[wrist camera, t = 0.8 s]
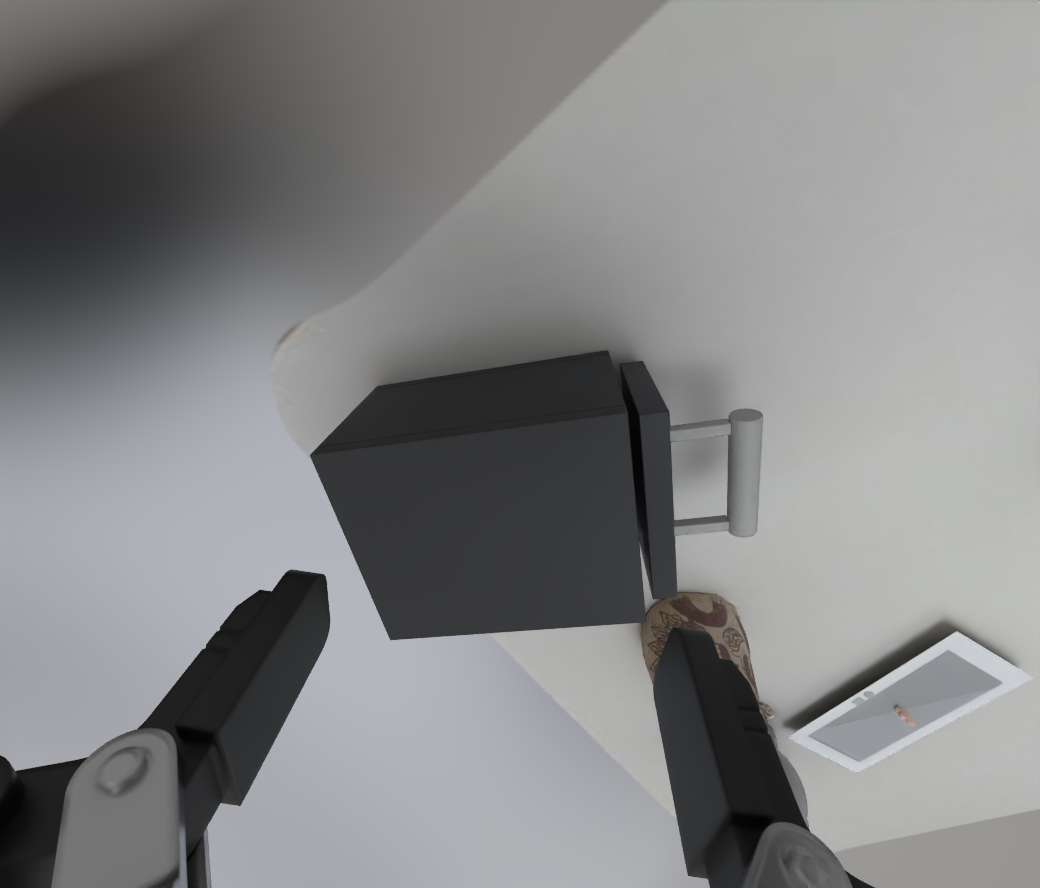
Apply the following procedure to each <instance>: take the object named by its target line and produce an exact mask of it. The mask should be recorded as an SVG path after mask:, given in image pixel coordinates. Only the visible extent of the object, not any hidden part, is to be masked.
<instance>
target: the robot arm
mask: <svg viewBox="0 0 1040 888" xmlns="http://www.w3.org/2000/svg"><path fill="white" fill-rule="evenodd" d="M329 628H330V612H329V602H328V591H327V581H326V577H325V575H324V574H318V573H311V572H304V571H298V570H289V571H288V572H286V573H285V574H284V576H283V577H282V578H281V580H280V581H279V582H278V584H277V585H276V587H275V588H274V589H273V591H272V592H271V591H264V590H259V591H258V592H256V593H255V594H253V595H252V596H250V597H249V598H248V599H246V600H245V601H243V602H242V603H241V604H239V605H238V606H237V607H236V608H235V609H234V611H232V613H231V614H230V615H229V617H228V618H227V619H226V620H225V622H224V623H223V624H222V625H221V627H220V630H219V631H217V632H216V633H215V634H214V636H213V637H212V638H211V639H210V641H209V642H208V643H207V644H206V648H205V649H202V651H201V652H200V653H199V654H198V656H197V657H196V658H195V659H194V661H193V662H192V663H191V665H190V666H189V667H188V668H187V670H186V671H185V672H184V673H183V675H182V676H181V677H180V678H179V680H178V681H177V682H176V684H175V685H174V686H173V687H172V688H171V690H170V691H169V692H168V694H167V695H166V696H165V698H164V699H163V700H162V701H161V702H160V704H159V705H158V706H157V707H156V709H155V710H154V711H153V712H152V714H151V715H150V716H149V717H148V719H147V720H146V721H145V722H144V723H143V724H142V725H141V726H140V727H139V728H138V729H137V730H133V731H130V732H127V733H125V734H122V735H120V736H118V737H116V738H114V739H112V740H110V741H109V742H107V743H105V744H104V745H103V746H101V747H100V748H98V749H97V750H96V751H95V752H94V753H92V754H91V755H90V756H89V757H87V758H83V759H79V760H74V761H68V762H63V763H58V764H52V765H46V766H41V767H35V768H30V769H24V770H19V771H15V770H14V768H13V767H12V766H11V764H10V763H9V761H7V759H6V758H5V757H2V756H0V888H211V874H210V859H209V844H208V831H207V826H208V824H209V822H210V821H211V819H212V817H213V815H214V814H215V812H216V810H217V808H218V806H219V805H220V803H225V804H231V805H238V806H240V805H241V804H242V802H243V800H244V798H245V796H246V794H247V793H248V791H249V789H250V787H251V785H252V783H253V781H254V779H255V777H256V775H257V774H258V772H259V770H260V768H261V766H262V764H263V762H264V760H265V758H266V756H267V754H268V753H269V751H270V749H271V747H272V745H273V743H274V741H275V739H276V737H277V735H278V734H279V732H280V729H281V728H282V726H283V724H284V722H285V720H286V718H287V716H288V714H289V712H290V711H291V709H292V707H293V705H294V703H295V701H296V699H297V697H298V695H299V694H300V692H301V690H302V688H303V686H304V684H305V682H306V680H307V678H308V676H309V674H310V673H311V670H312V669H313V667H314V665H315V663H316V661H317V659H318V657H319V655H320V654H321V652H322V649H323V648H324V645H325V643H326V640H327V637H328V633H329ZM653 692H654V700H655V706H656V711H657V716H658V721H659V727H660V732H661V737H662V742H663V747H664V753H665V758H666V763H667V768H668V774H669V779H670V784H671V789H672V795H673V800H674V805H675V810H676V816H677V821H678V826H679V831H680V836H681V842H682V846H683V852H684V857H685V863H686V868H687V873H688V876H693V877H700V878H706V879H708V880H709V885H710V888H874V887H872V886H870V885H868V884H866V883H864V882H863V881H861V880H859V879H857V878H855V877H854V876H852V875H851V874H849V873H848V872H847V871H845V870H844V868H843V867H842V865H841V863H840V862H839V860H838V859H837V858H836V856H835V855H834V854H833V853H832V851H831V850H830V849H829V848H828V847H827V846H826V845H825V844H824V843H823V842H822V841H821V840H820V839H819V838H817V837H816V836H815V835H813V834H812V833H811V832H810V830H809V829H808V827H807V825H806V823H805V821H804V819H803V816H802V814H801V811H800V809H799V806H798V804H797V801H796V799H795V796H794V794H793V791H792V789H791V786H790V784H789V781H788V779H787V776H786V773H785V771H784V768H783V766H782V763H781V761H780V758H779V756H778V753H777V751H776V748H775V746H774V743H773V741H772V738H771V735H769V734H768V728H767V725H766V723H765V720H764V718H763V715H762V713H760V711H759V709H760V708H759V705H758V703H757V700H756V697H755V695H754V692H753V690H752V687H751V685H750V683H749V682H748V680H747V679H746V678H745V676H744V675H743V674H742V673H741V671H740V670H739V669H738V667H737V666H736V665H735V664H734V662H733V661H732V660H725V659H720V658H719V655H718V652H717V650H716V647H715V644H714V641H713V638H712V636H711V635H710V634H709V633H708V632H706V631H699V630H693V629H686V628H679V627H673V628H672V629H671V631H670V634H669V636H668V639H667V641H666V644H665V646H664V649H663V651H662V654H661V656H660V659H659V662H658V664H657V667H656V669H655V674H654V682H653Z"/></svg>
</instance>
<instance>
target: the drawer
mask: <svg viewBox="0 0 1040 888" xmlns="http://www.w3.org/2000/svg"><path fill="white" fill-rule="evenodd" d="M620 370H621V381H622V392H623V399H624V402H625V406H626V409H627V412H628V421H629V432H630V444H631V455H632V466H633V478H634V489H635V501H636V512H637V524H638V535H639V542H640V546H641V551H642V555H643V559H644V563H645V568H646V572H647V576H648V580H649V585H650V589H651V593H652V597H653V599H666V598H677V576H676V553H675V536H677V535H688V534H698V533H709V532H719V531H729V532H730V533H731V534H732V535H734V536H737V537H751V536H753V535H754V534H755V533H756V532H757V521H758V502H759V482H760V463H761V444H762V425H763V414H762V413H761V412H760V411H757V410H754V409H738V410H735V411H732V412H731V413H730V414H729V421H728V419H721V420H713V421H706V422H698V423H690V424H682V425H675V426H670V419H669V410H668V409H667V407H666V405H665V403H664V401H663V399H662V397H661V395H660V393H659V391H658V389H657V387H656V385H655V384H654V382H653V380H652V378H651V376H650V374H649V372H648V370H647V368H646V366H645V364H644V362H643V361H639V362H632V363H625V364H620ZM724 435H728V491H727V517H726V516H725V515H723V516H713V517H703V518H693V519H683V520H674V509H673V486H672V464H671V442H676V441H684V440H692V439H700V438H708V437H716V436H724Z"/></svg>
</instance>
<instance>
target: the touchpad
mask: <svg viewBox="0 0 1040 888" xmlns="http://www.w3.org/2000/svg"><path fill="white" fill-rule="evenodd" d="M1031 679H1033V677H1032V676H1030V675H1028V674H1027V673H1025V672H1024V671H1022V670H1020V669H1019V668H1017V667H1015V666H1014V665H1012V664H1010V663H1009V662H1007V661H1005V660H1004V659H1002V658H1001V657H999V656H997V655H996V654H994V653H992V652H991V651H989V650H987V649H986V648H984V647H982V646H981V645H979V644H978V643H976V642H974V641H973V640H971V639H969V638H968V637H966V636H964V635H963V634H961V633H959V632H958V631H956V632H954V633H953V634H951V635H949V636H948V637H946V638H945V639H943V640H941V641H940V642H938V643H937V644H935V645H933V646H932V647H930V648H929V649H927V650H925V651H924V652H922V653H921V654H919V655H918V656H916V657H914V658H913V659H911V660H910V661H908V662H906V663H905V664H903V665H902V666H900V667H898V668H897V669H895V670H894V671H892V672H890V673H889V674H887V675H886V676H884V677H882V678H881V679H879V680H878V681H876V682H874V683H873V684H871V685H870V686H868V687H866V688H865V689H863V690H862V691H860V692H858V693H857V694H855V695H854V696H852V697H850V698H849V699H847V700H846V701H844V702H842V703H841V704H839V705H838V706H836V707H834V708H833V709H831V710H830V711H828V712H826V713H825V714H823V715H822V716H820V717H818V718H817V719H815V720H814V721H812V722H810V723H809V724H807V725H806V726H804V727H802V728H801V729H799V730H798V731H796V732H795V733H793V734H791V735H790V736H788V737H787V738H788V739H790V740H792V741H794V742H796V743H798V744H800V745H802V746H804V747H806V748H808V749H810V750H812V751H814V752H816V753H818V754H820V755H822V756H824V757H826V758H828V759H830V760H832V761H834V762H836V763H838V764H840V765H842V766H844V767H846V768H848V769H850V770H852V771H854V772H856V773H858V772H860V771H862V770H864V769H866V768H867V767H869V766H871V765H873V764H875V763H877V762H879V761H880V760H882V759H884V758H886V757H888V756H890V755H892V754H893V753H895V752H897V751H899V750H901V749H903V748H905V747H906V746H908V745H910V744H912V743H914V742H916V741H918V740H919V739H921V738H923V737H925V736H927V735H929V734H931V733H933V732H934V731H936V730H938V729H940V728H942V727H944V726H946V725H947V724H949V723H951V722H953V721H955V720H957V719H959V718H960V717H962V716H964V715H966V714H968V713H970V712H972V711H973V710H975V709H977V708H979V707H981V706H983V705H985V704H986V703H988V702H990V701H992V700H994V699H996V698H998V697H999V696H1001V695H1003V694H1005V693H1007V692H1009V691H1011V690H1012V689H1014V688H1016V687H1018V686H1020V685H1022V684H1024V683H1025V682H1027V681H1029V680H1031Z"/></svg>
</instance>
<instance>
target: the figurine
mask: <svg viewBox="0 0 1040 888" xmlns="http://www.w3.org/2000/svg"><path fill="white" fill-rule="evenodd" d="M673 627H679V628H686V629H693V630H699V631H706V632H708V633H709V634H710V635H711V636H712V638H713V641H714V644H715V647H716V650H717V652H718V655H719V658H720V659H725V660H732V661H733V662H734V664H735V665H736V666H737V667H738V669H739V670H740V671H741V673H742V674H743V675H744V676H745V678H746V679H747V680H748V682H749V683H750V685H751V687H752V690H753V692H754V695H755V697H756V700H757V703H758V705H759V708H760V709H759V711H760V713H762V715H763V718H764V720H765V723H766V725H767V720H769V719H772V718H773V717H774V713H773V710H772V709H771V707H770V706H768V705H767V704H765V703H762V702H759V696H758V692H757V687H756V683H755V678H754V674H753V670H752V665H751V660H750V650H749V644H748V640H747V637H746V634H745V631H744V629H743V627H742V625H741V623H740V620H739V616H738V614H737V611H736V609H735V607H734V606H733V605H731V604H729V603H727V602H726V601H724V600H723V599H722V598H721V597H719V596H717V595H714V594H701V593H677V598H666V599H663V600H661V601H660V602H658V603H657V604H656V605H654V606H653V607H652V608H651V609H650V611H649V612H648V614H647V616H646V622H643V625H642V633H641V638H642V648H643V656H644V660H645V663H646V666H647V669H648V672H649V674H650V677H651V680H652V683H653V682H654V674H655V669H656V667H657V664H658V662H659V659H660V656H661V654H662V651H663V649H664V646H665V644H666V641H667V639H668V636H669V634H670V631H671V629H672V628H673Z"/></svg>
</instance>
